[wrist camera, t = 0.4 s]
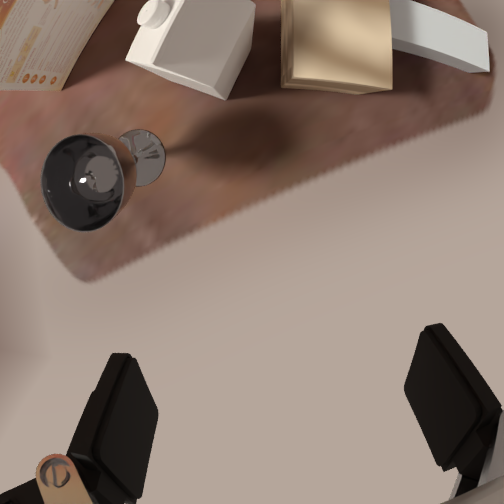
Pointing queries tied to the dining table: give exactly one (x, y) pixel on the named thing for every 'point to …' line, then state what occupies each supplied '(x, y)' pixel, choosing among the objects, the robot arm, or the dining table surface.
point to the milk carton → (195, 42)
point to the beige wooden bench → (336, 45)
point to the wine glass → (98, 176)
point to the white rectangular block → (438, 36)
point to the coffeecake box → (44, 40)
